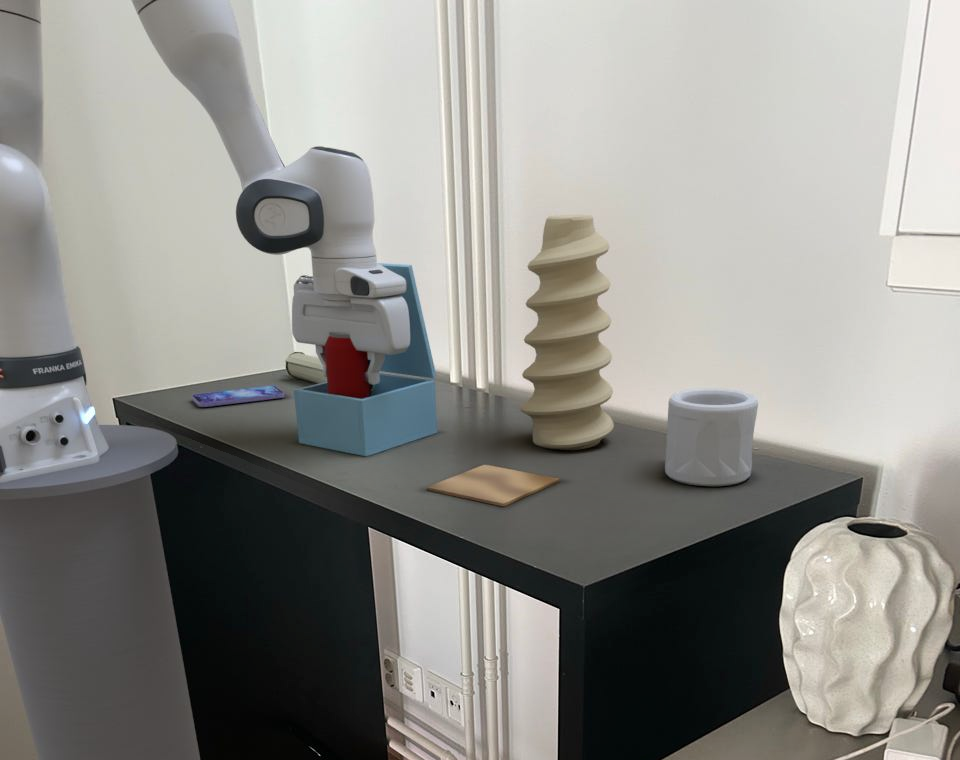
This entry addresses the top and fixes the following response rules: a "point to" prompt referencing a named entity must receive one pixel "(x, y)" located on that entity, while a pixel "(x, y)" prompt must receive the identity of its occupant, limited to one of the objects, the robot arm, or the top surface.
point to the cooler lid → (411, 333)
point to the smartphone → (237, 396)
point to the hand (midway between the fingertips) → (351, 380)
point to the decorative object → (569, 337)
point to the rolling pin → (305, 367)
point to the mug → (710, 436)
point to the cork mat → (493, 485)
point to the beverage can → (346, 368)
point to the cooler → (367, 415)
